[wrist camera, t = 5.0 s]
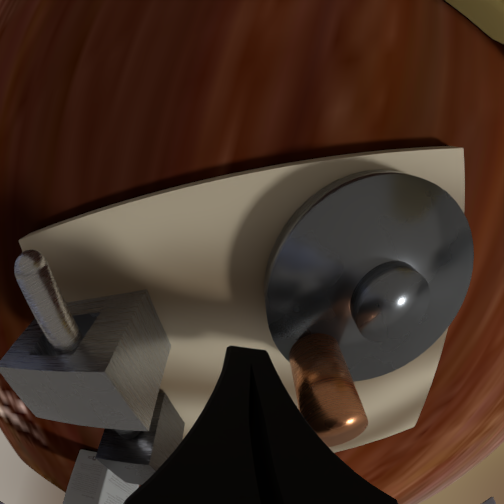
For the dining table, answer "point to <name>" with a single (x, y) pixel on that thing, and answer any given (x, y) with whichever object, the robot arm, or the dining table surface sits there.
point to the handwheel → (363, 288)
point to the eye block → (95, 365)
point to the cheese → (484, 15)
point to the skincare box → (95, 483)
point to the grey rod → (66, 343)
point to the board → (231, 271)
